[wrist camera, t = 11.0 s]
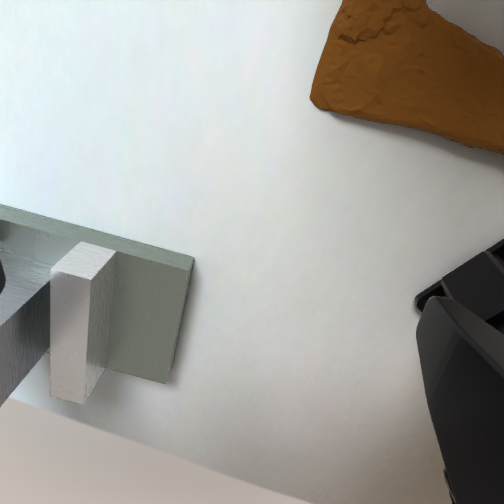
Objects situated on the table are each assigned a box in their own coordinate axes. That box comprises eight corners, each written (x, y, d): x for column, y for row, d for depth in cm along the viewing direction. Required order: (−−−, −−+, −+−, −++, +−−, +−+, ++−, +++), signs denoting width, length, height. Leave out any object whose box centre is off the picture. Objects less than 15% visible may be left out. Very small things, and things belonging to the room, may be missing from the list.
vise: (194, 257, 23) (171, 301, 19) (171, 367, 27) (149, 422, 23) (-102, 176, 23) (-187, 204, 19) (-78, 300, 27) (-143, 344, 23)
